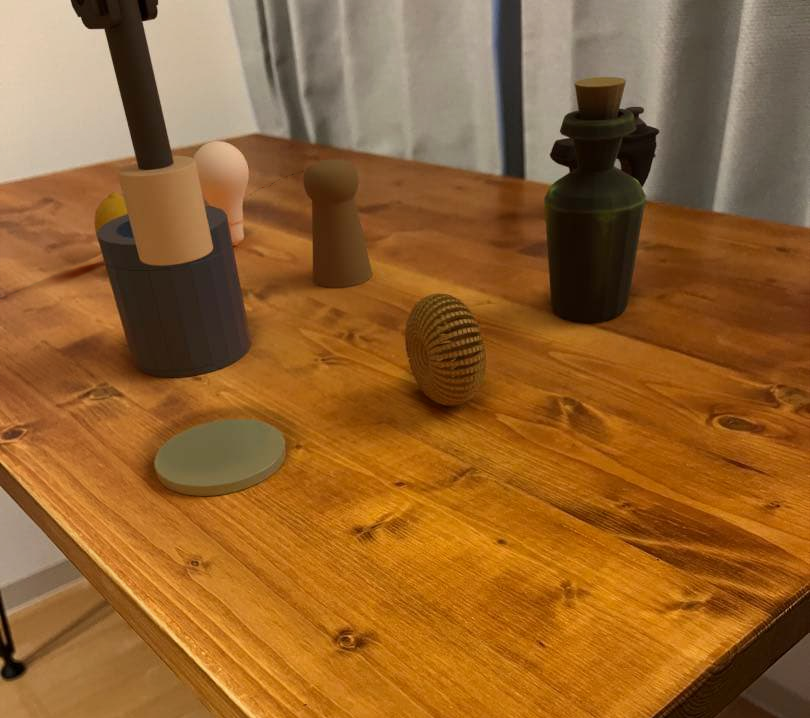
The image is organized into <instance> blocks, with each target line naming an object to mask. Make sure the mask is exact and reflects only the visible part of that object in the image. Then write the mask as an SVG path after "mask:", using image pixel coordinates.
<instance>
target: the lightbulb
mask: <svg viewBox="0 0 810 718" xmlns="http://www.w3.org/2000/svg"><path fill="white" fill-rule="evenodd" d="M192 158H193V159H194V160H195V162H196V167H197V172H198V177H199V181H200V186H201V191H202V196H203V199H205V201H206V202H207V204H208V206H213V207H216V208H219V209H222V210H223V211H224V212H225V213H226V215H227V219H228V224H229V229H230V234H231V239H232V244H233V247H236V246H238V245H239V243H240V242H242V241H243V240H244V238H245V235H244V234H245V233H244V225H243V220H244V212H243V203H244V197H245V193H246V190H247V187H248V183H249V179H250V178H249V177H250V170H249V165H248V162H247V160H246V157H245V156H244V154H243V153H242V152H241V151H240V150H239V149H238V148H237V147H236V146H235V145H232V144H231V143H228V142H226V141H220V140H215V141H210V142H208V143H205V144H203V145H202V146H201V147H200V148H199V149H198V150H197V151H196V152H195V154H194V156H193V157H192Z"/></svg>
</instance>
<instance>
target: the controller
mask: <svg viewBox="0 0 810 718" xmlns="http://www.w3.org/2000/svg"><path fill="white" fill-rule="evenodd" d="M624 109H625V110H629V111H631V112H632V113H633V115H634V119H635V123H636V128H637V129H636V130H635V131H634V132H632V133H630V134H628V135H626V136H624V137H622V141H621V144H620V147H619V151H618V154H617V157H616V160H618V161H619V165H620V170H622V171H623V172H625V173H627V174H628V175H630V176H632V177H633V178H635V179H636V180H637V181H638V182H639V183H640V184H641V187H642V188H643V187H644V185H645V183H647V180H648V178H649V175H650V173H651V169H652V165H653V161H654V158H655V157H656V150H657V147H658V144H657V143H658V142H657V136H658V135H659V134H660V130H659V129H658V128H656V127H655V126H650V125H648V124H647V123H646V122H645V121H643V119H642V118H640V115H642V114H644V112H645V109H644V107H643V106H629V107H626V108H624ZM550 151H551V152H549V158H550V159H551V160H552V161H553V162H554V163H556V164H557V165H560V166H562V167H566V168H568V169H569V173H570V172H571V171H573V170H574V169H576V168H578V163H577V158H576V154H575V149H574V144H573V139H571V138H569V137H567V138H561V139H556V140H555V142H554V143H553V145H552V148H551V150H550Z"/></svg>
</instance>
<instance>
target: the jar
mask: <svg viewBox="0 0 810 718" xmlns="http://www.w3.org/2000/svg"><path fill="white" fill-rule="evenodd" d="M204 205H205V204H204ZM205 210H206V215H207V220H208V225H209V229H210V234H211V239H212V244H213V250H212V251H211V252H210V253H209V254H207V255H206V256H204V257H202V258H199V259H197V260H194V261H190V262H186V263H181V264H175V265H149V264H145V263H143V262H142V261H141V260H140V258H139V254H138V251H137V247H136V243H135V239H134V235H133V231H132V228H131V224H130V220H129V216H128V214H126V215H124V216H121V217H119V218H116V219H113V220H111V221H109V222H108V223H106V224H105V225H103V226H101V227H100V229H99V230H98V232H97V236H96V239H97V238H98V239H97V242H98V241H99V242H98V245H99V248H100V251H101V255H102V258H103V262H104V266H105V269H106V273H107V276H108V281H109V284H110V287H111V290H112V291H111V292H112V294H113V298H114V301H115V304H116V305H115V306H116V308H117V312H118V315H119V319H120V322H121V327H122V330H123V332H124V337H125V340H126V344H127V347H128V351H129V355H130V357H131V361H132V364H133V366H134V367H135V368H136V370H137V371H139V372H141V373H143V374H144V375H148V376H151V377H157V378H158V377H159V378H184V377H185V378H186V377H192V376H199V375H203V374H208V373H211V372H215V371H218V370H221V369H223V368H226V367H228V366H230V365H232V364H234V363H236V362H237V361H239V360H240V359H242V358H243V357H244V356H245V355H246V354H247V353H248V352H249V350H250V348H251V345H252V342H251V333H250V328H249V327H250V326H249V322H248V316H247V313H246V312H247V311H246V308H245V303H244V302H245V301H244V296H243V292H242V287H241V282H240V276H239V270H238V266H237V260H236V255H235V250H234V246H233V244H232V239H231V234H230V229H229V224H228V219H227V215H226V213H225V212H224V211H223V210H222V209H219V208H216V207H213V206H209V205H207V204H206V205H205Z"/></svg>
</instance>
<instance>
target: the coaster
mask: <svg viewBox="0 0 810 718" xmlns="http://www.w3.org/2000/svg"><path fill="white" fill-rule="evenodd" d="M287 453H288V452H287V445H286V439H285V436H284V435H283V433H282V432H281V431H280V429H278V428H276V426H273V425H272V424H270V423H267V422H264V421H261V420H255V419H249V418H230V419H220V420H213V421H209V422H205V423H202V424H198V425H195V426H193V427H190V428H187V429H185V430H183V431H181V432H179V433H177V434H176V435H174V436H172V437H171V438H170V439H168V440H167V441H165V442H164V443H163V444H162V445H161V447H160V448H159V449H158V451H157V452H156V455H155V457H154V461H153V464H154V465H153V466H154V470H155V473H156V474H155V475H156V476H157V478H158V480H159V482H160V483H161V484H162V485H163V486H164V487H165V488H167V489H169V490H171V491H172V492H174V493H177V494H182V495H186V496H187V495H188V496H194V497H209V496H210V497H211V496H221V495H228V494H232V493H236V492H239V491H243V490H246V489H248V488H251V487H253V486H255V485H258V484H260V483H262V482H264V481H265V480H267V479H268V478H269V477H271V476H273V475H274V474H275V473H276V472H277V471H278V470H280V468H281V467H282V466H283V464H284V462H285V460H286V458H287Z"/></svg>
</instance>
